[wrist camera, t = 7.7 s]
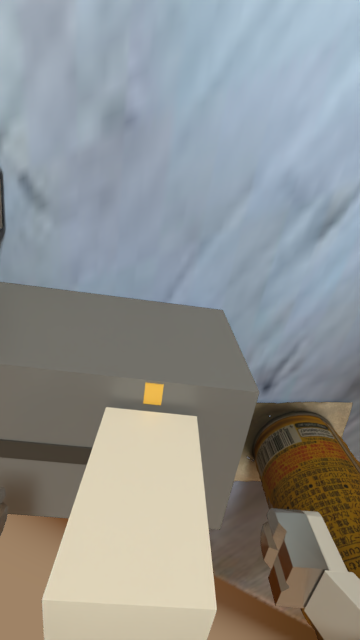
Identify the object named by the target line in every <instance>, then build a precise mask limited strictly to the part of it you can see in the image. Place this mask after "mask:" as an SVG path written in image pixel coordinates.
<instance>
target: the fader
mask: <svg viewBox="0 0 360 640" xmlns="http://www.w3.org/2000/svg"><path fill="white" fill-rule="evenodd" d="M216 611H217V606H216V596H215V586H214V576H213V567H212V557H211V547H210V538H209V528H208V519H207V509H206V499H205V490H204V480H203V470H202V461H201V451H200V441H199V432H198V422H197V416H189V415H180V414H170V413H160V412H150V411H140V410H130V409H120V408H110V407H106V409H105V412H104V415H103V418H102V421H101V424H100V427H99V430H98V433H97V436H96V439H95V442H94V445H93V448H92V451H91V454H90V457H89V460H88V463H87V466H86V469H85V472H84V475H83V478H82V481H81V484H80V487H79V490H78V493H77V496H76V499H75V502H74V505H73V508H72V511H71V514H70V517H69V520H68V523H67V526H66V529H65V532H64V535H63V538H62V541H61V544H60V547H59V550H58V553H57V556H56V559H55V562H54V565H53V568H52V571H51V574H50V577H49V580H48V583H47V586H46V589H45V592H44V595H43V598H42V612H43V628H44V640H207V638H208V635H209V632H210V629H211V626H212V623H213V620H214V617H215V614H216Z"/></svg>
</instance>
